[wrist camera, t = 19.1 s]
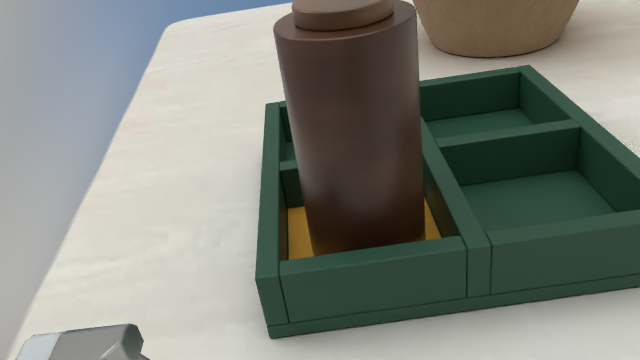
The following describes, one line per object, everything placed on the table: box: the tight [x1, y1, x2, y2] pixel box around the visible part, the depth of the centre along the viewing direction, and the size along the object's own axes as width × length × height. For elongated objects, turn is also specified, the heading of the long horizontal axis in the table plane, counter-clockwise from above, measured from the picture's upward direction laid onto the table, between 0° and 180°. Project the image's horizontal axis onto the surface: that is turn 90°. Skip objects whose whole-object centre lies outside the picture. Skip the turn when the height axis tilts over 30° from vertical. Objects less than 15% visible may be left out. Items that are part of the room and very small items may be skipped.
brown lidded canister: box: [273, 0, 426, 256], centre depth 20 cm, size 5×5×10 cm
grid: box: [255, 65, 640, 338], centre depth 25 cm, size 15×15×3 cm
